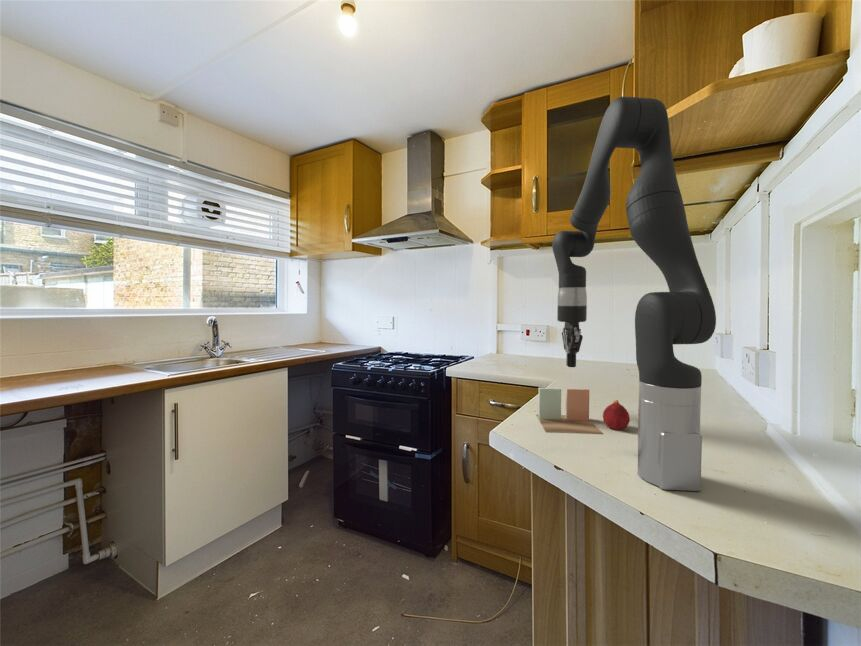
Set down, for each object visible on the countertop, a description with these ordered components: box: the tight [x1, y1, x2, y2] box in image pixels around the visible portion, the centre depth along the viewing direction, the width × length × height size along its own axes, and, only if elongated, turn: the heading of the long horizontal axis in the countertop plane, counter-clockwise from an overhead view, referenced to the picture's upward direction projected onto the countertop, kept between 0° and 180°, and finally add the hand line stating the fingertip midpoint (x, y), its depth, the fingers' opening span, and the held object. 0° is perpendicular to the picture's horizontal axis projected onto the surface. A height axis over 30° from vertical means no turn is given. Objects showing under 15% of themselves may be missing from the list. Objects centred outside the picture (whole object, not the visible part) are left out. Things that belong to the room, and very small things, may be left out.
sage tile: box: [537, 387, 562, 420], centre depth 97 cm, size 2×6×8 cm, turn 83°
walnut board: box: [535, 414, 604, 435], centre depth 93 cm, size 14×13×1 cm
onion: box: [602, 399, 631, 431], centre depth 89 cm, size 6×6×8 cm
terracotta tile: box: [565, 387, 590, 420], centre depth 96 cm, size 2×6×8 cm, turn 83°
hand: (571, 366), depth 102 cm, fingers closed
